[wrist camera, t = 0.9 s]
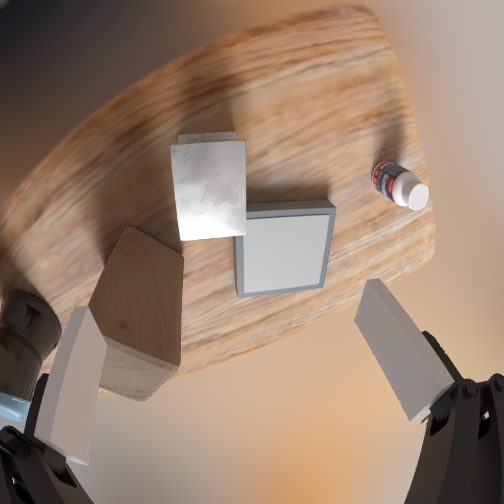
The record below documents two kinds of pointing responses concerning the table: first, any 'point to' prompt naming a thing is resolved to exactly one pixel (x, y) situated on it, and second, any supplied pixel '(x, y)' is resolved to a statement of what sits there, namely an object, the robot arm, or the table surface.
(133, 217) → the table surface
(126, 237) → the wooden block
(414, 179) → the pill bottle
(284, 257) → the stand
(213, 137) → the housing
